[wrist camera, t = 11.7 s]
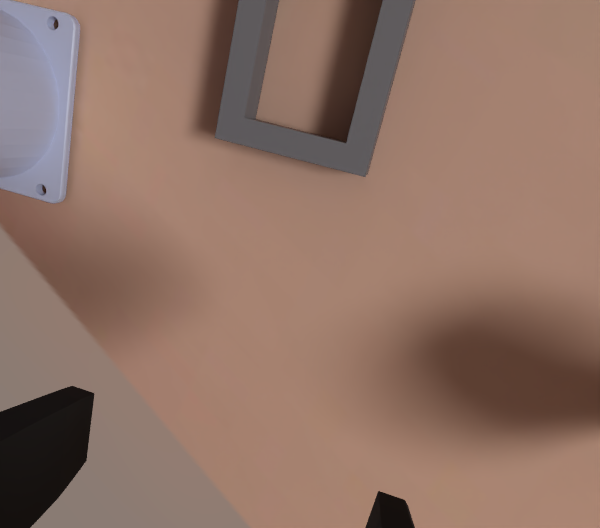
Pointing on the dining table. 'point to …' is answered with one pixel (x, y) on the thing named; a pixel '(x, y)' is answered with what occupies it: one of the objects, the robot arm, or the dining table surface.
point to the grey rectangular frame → (294, 143)
